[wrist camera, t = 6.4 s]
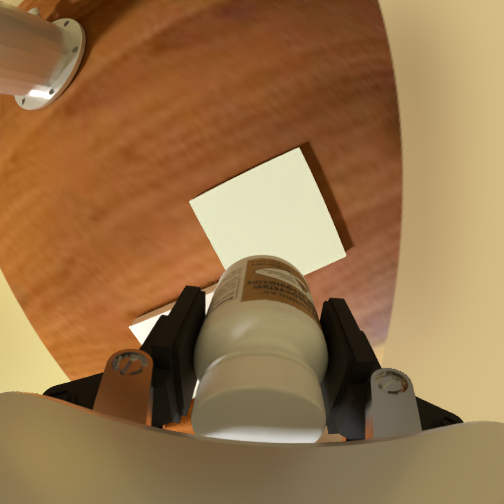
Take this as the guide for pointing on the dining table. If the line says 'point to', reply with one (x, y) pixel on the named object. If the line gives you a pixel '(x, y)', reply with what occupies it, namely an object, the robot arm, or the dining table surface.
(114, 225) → the dining table surface
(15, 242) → the dining table surface
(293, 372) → the pill bottle
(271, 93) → the dining table surface
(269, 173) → the pad
